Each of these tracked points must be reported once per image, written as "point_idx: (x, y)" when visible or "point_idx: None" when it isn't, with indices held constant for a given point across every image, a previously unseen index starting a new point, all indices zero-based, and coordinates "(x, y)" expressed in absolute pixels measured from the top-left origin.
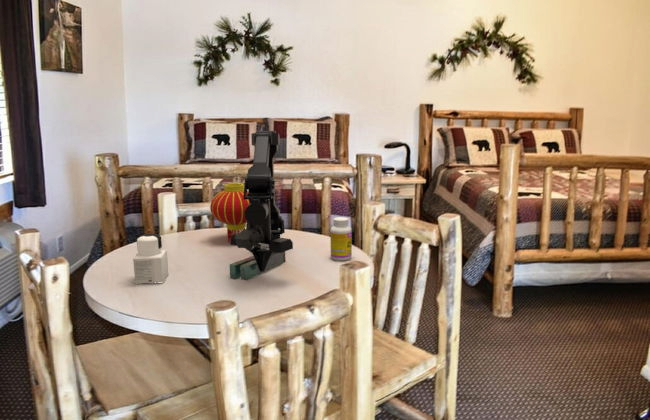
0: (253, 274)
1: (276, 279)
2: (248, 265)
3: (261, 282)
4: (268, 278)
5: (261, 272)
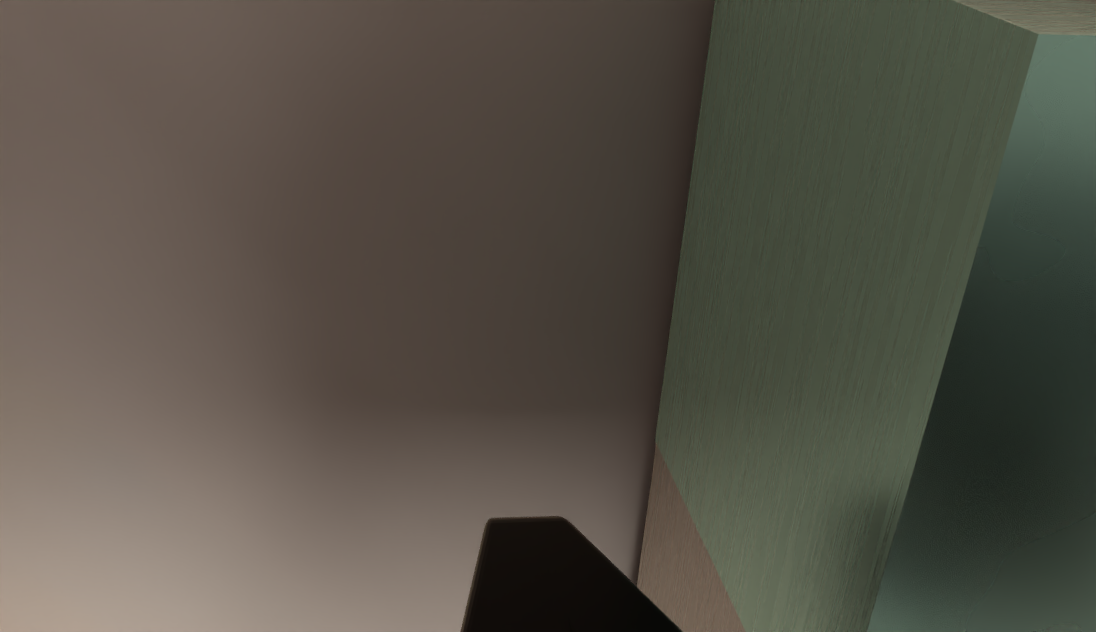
0: (704, 320)
1: (9, 507)
2: (986, 291)
3: (215, 88)
4: (277, 458)
5: None
